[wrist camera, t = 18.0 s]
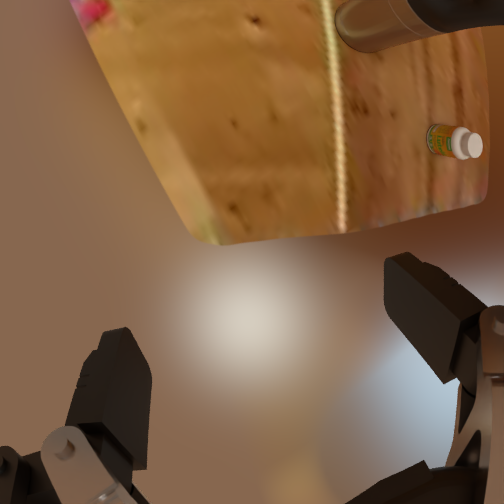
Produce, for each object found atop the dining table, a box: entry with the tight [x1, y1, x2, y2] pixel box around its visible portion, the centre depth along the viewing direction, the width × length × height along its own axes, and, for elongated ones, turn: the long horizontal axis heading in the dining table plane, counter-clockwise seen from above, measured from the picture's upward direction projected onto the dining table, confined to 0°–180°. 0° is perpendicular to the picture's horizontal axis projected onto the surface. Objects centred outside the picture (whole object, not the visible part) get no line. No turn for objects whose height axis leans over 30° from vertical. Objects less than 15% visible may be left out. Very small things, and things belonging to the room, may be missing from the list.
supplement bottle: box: [427, 125, 482, 160], centre depth 43 cm, size 5×5×10 cm
